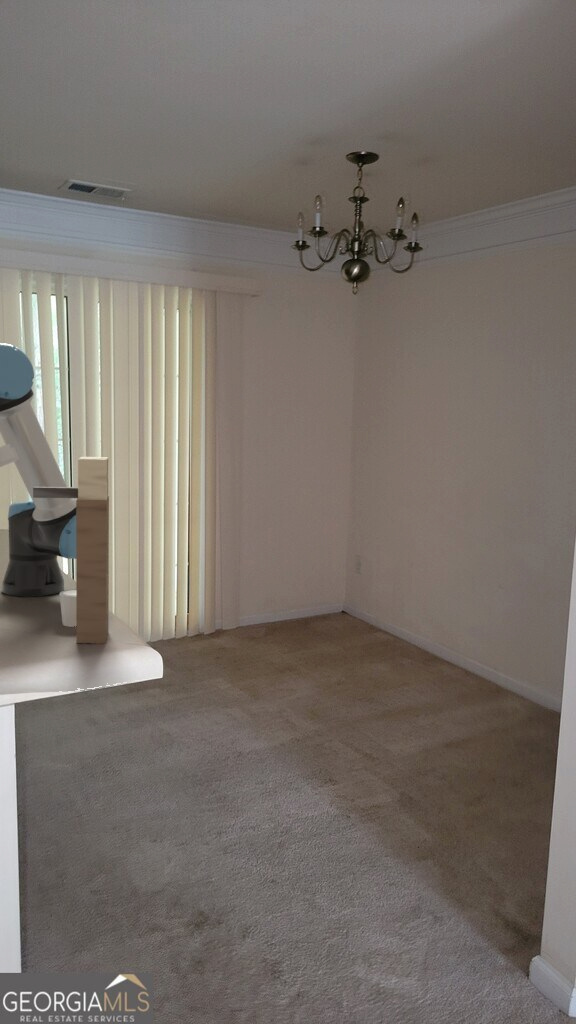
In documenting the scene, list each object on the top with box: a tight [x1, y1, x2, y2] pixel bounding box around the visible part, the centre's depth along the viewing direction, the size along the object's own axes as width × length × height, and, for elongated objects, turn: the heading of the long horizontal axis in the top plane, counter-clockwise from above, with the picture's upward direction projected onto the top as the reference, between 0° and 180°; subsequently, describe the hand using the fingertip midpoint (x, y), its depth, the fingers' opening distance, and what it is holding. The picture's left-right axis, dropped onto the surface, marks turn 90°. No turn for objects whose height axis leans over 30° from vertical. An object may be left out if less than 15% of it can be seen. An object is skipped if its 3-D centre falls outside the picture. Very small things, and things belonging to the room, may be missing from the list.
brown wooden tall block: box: [75, 495, 110, 644], centre depth 156 cm, size 8×6×29 cm
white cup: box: [59, 588, 77, 628], centre depth 168 cm, size 7×7×7 cm
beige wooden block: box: [33, 456, 109, 500], centre depth 153 cm, size 7×14×8 cm, turn 100°
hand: (14, 451), depth 154 cm, fingers open, 13 cm apart
